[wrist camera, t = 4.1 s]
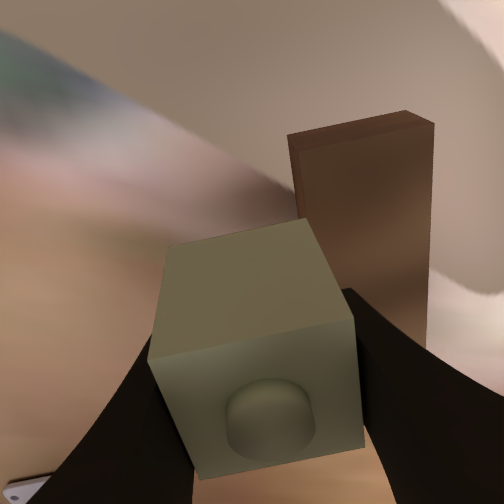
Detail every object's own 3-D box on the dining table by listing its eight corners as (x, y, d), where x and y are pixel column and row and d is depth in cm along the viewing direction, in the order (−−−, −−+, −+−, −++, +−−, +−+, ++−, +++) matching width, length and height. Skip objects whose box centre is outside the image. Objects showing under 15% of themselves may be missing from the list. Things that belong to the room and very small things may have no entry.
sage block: (321, 325, 14) (373, 471, 9) (203, 349, 14) (199, 506, 9) (306, 217, 12) (363, 339, 7) (168, 247, 12) (142, 384, 7)
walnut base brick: (404, 379, 25) (423, 413, 23) (323, 395, 25) (334, 431, 23) (405, 109, 17) (434, 123, 15) (286, 135, 17) (298, 151, 15)
